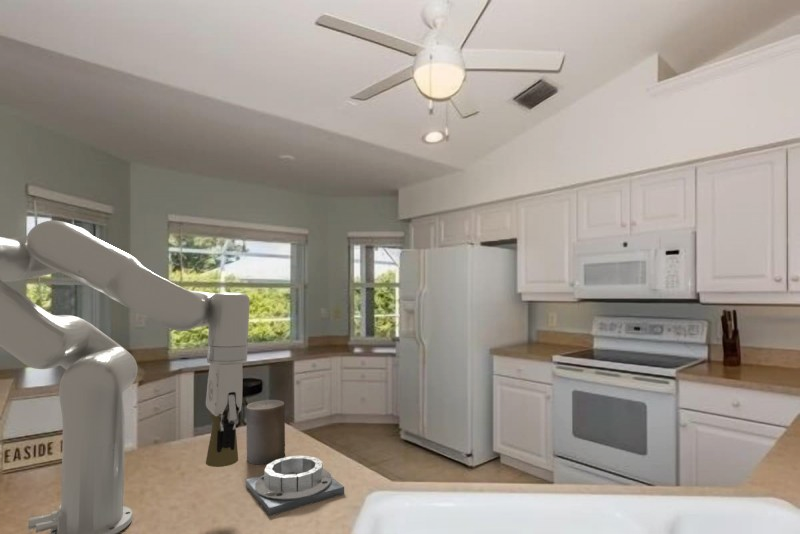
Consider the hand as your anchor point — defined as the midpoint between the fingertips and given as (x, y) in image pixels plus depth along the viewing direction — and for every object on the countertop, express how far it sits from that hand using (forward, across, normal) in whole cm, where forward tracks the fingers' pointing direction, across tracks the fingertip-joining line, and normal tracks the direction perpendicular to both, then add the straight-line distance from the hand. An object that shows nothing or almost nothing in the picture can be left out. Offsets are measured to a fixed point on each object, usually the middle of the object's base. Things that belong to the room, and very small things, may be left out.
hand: (222, 446), depth 90 cm
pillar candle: (+12, -23, +16) cm, 31 cm away
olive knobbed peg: (+3, 0, 0) cm, 3 cm away
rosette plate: (+12, 0, +15) cm, 19 cm away
